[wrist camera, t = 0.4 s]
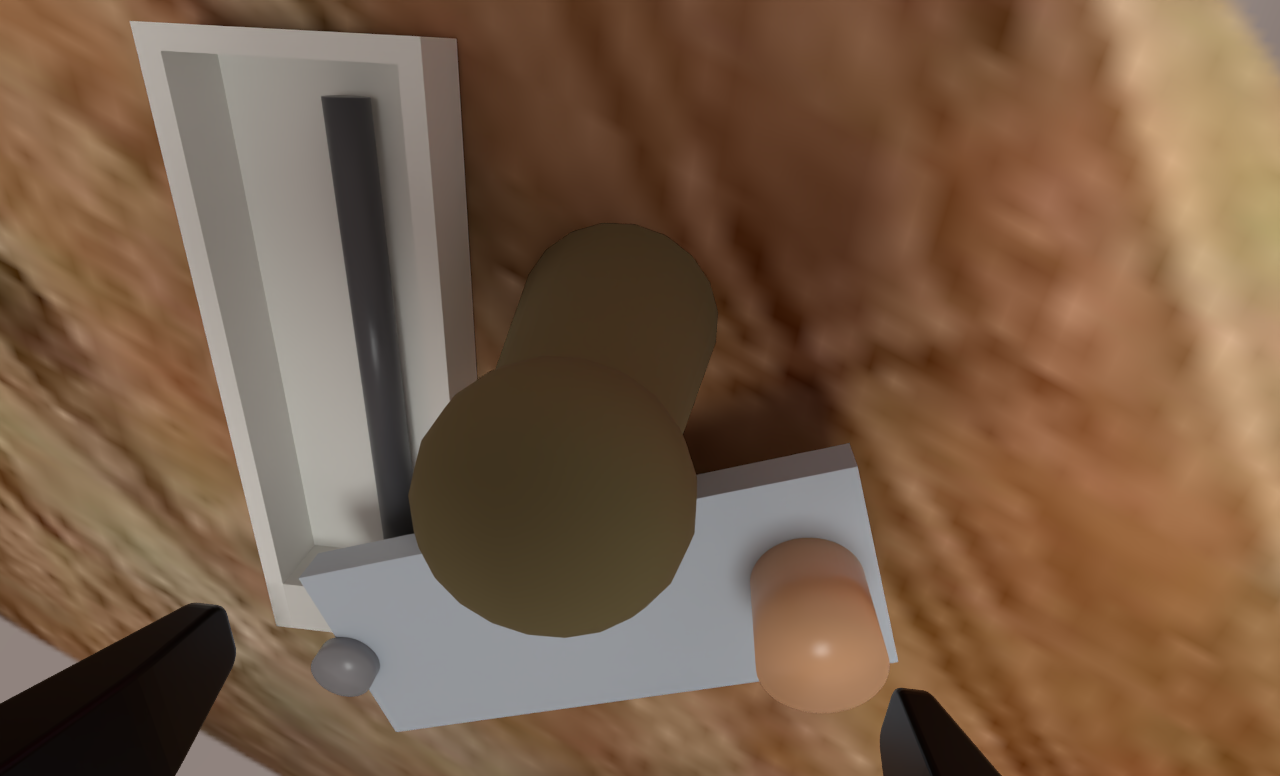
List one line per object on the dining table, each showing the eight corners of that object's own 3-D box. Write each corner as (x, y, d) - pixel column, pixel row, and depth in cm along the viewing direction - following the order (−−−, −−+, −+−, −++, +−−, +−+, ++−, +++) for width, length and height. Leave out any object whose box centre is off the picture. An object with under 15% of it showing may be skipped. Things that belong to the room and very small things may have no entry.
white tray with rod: (490, 597, 26) (469, 647, 24) (313, 578, 27) (276, 626, 25) (456, 38, 18) (420, 36, 16) (200, 24, 19) (129, 20, 16)
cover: (385, 706, 25) (328, 820, 22) (292, 558, 23) (208, 658, 19) (889, 631, 22) (925, 753, 18) (849, 443, 19) (883, 540, 15)
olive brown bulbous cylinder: (512, 390, 22) (353, 653, 13) (530, 203, 20) (349, 353, 10) (695, 427, 22) (680, 721, 13) (739, 245, 20) (765, 437, 10)
